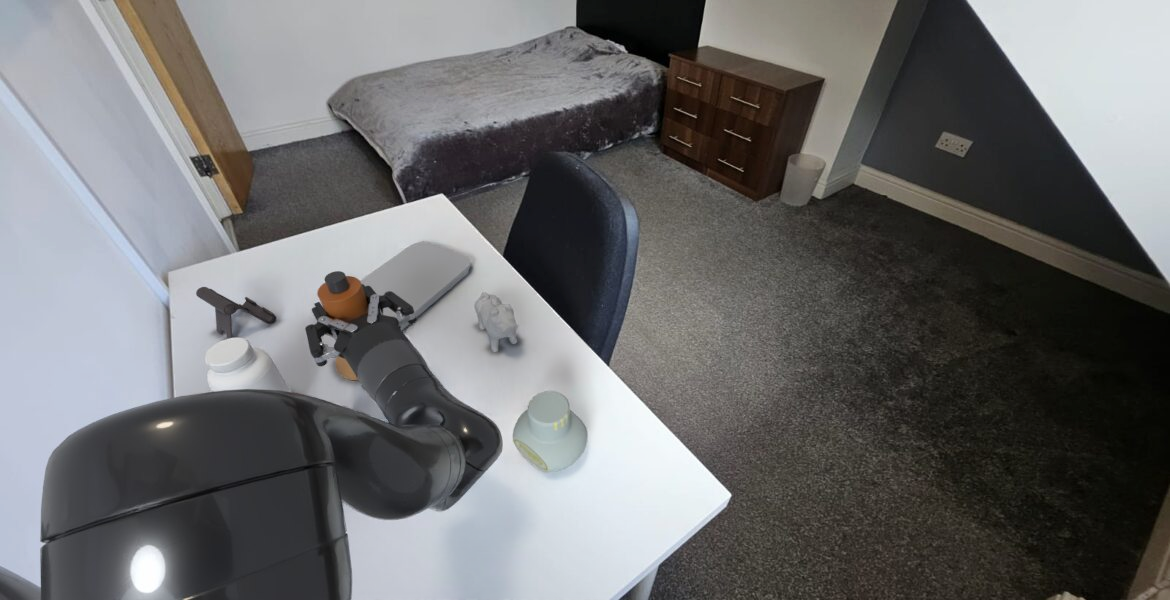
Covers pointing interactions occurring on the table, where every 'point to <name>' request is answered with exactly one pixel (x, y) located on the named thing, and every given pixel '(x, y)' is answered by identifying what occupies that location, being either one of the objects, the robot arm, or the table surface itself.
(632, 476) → the table surface
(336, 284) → the bottle
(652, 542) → the table surface
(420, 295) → the tablet
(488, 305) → the grey animal figurine
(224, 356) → the pill bottle
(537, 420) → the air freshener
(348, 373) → the coaster
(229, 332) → the tablet stand
